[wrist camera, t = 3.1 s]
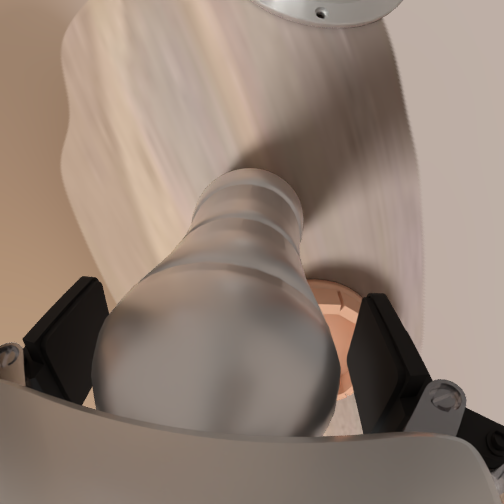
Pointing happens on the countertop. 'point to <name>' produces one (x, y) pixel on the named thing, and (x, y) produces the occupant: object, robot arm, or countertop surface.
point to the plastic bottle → (225, 324)
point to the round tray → (338, 321)
